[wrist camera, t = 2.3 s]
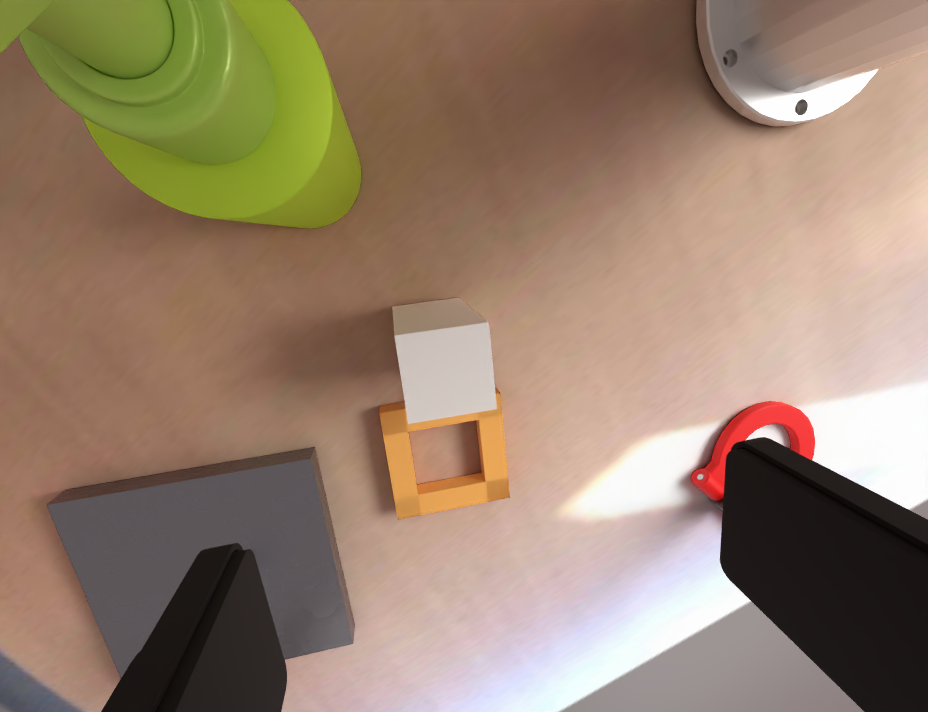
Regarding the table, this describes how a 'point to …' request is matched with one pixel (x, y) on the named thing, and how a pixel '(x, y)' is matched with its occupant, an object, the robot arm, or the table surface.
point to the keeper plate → (208, 546)
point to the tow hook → (739, 430)
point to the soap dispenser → (200, 102)
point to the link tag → (444, 404)
